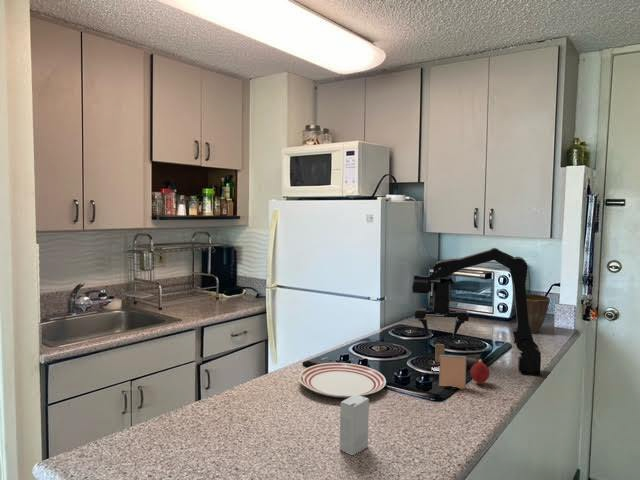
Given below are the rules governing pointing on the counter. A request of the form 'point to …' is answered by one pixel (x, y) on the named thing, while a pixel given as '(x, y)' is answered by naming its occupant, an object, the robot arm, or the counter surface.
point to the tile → (452, 371)
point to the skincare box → (354, 424)
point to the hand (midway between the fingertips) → (440, 337)
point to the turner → (438, 354)
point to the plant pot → (536, 310)
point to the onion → (479, 372)
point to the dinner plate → (342, 379)
